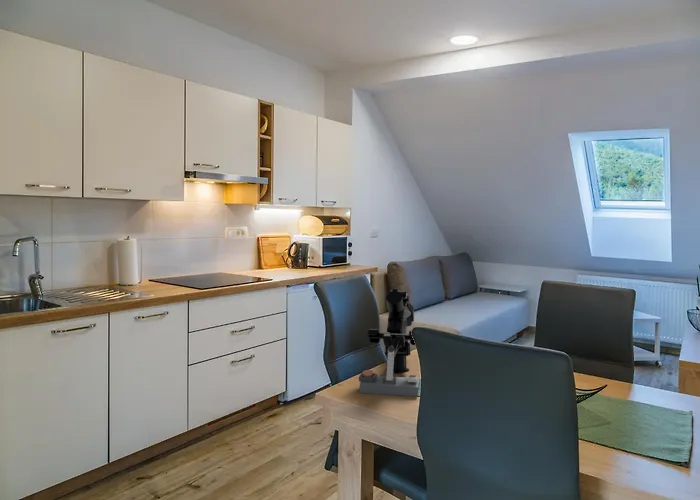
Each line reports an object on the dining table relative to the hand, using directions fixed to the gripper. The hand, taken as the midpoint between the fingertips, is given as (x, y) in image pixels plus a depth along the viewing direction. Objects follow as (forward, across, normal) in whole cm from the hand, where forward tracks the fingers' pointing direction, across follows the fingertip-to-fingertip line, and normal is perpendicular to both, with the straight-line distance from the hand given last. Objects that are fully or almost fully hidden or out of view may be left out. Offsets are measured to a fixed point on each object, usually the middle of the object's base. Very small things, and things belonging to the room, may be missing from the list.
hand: (392, 358), depth 176 cm
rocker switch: (+8, -8, -1) cm, 11 cm away
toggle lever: (+10, 0, +1) cm, 10 cm away
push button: (+7, +7, 0) cm, 10 cm away
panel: (+10, 0, -3) cm, 11 cm away
